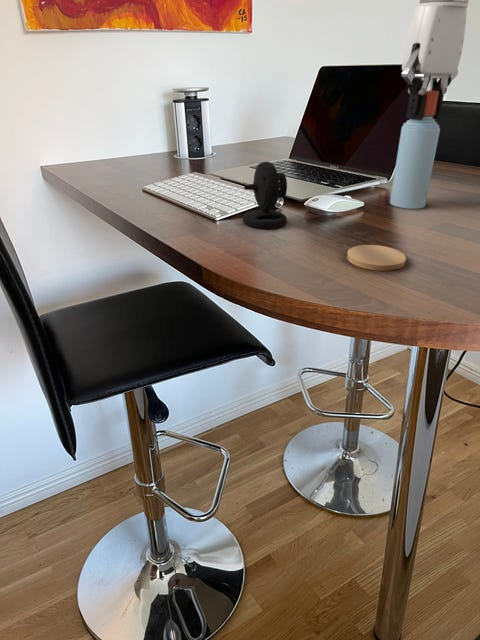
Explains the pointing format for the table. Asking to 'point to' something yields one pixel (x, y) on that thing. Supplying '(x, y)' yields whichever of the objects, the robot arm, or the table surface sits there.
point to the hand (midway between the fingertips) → (422, 117)
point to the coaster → (376, 257)
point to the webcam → (266, 197)
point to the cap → (431, 102)
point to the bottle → (414, 163)
